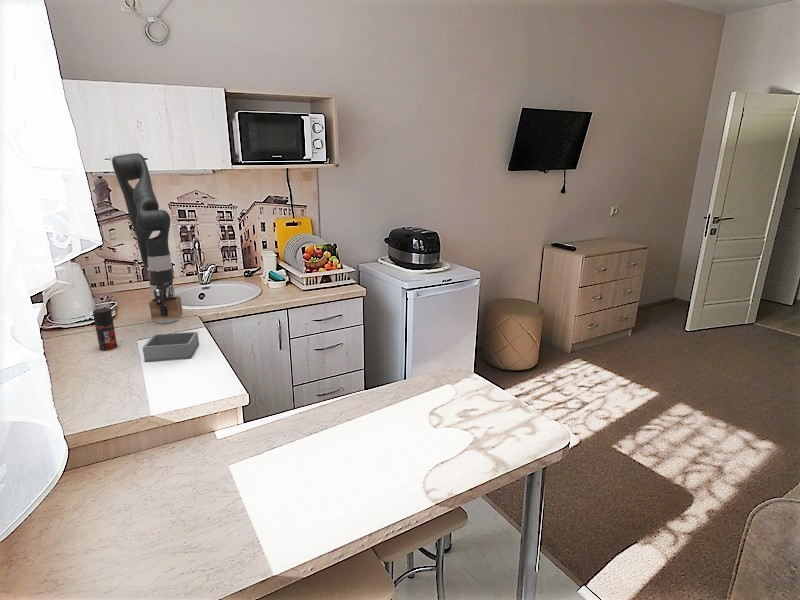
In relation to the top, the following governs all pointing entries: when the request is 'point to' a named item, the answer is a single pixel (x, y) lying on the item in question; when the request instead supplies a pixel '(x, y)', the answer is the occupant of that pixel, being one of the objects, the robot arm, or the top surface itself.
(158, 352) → the crate large
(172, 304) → the crate small
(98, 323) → the deodorant
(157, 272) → the robot arm
